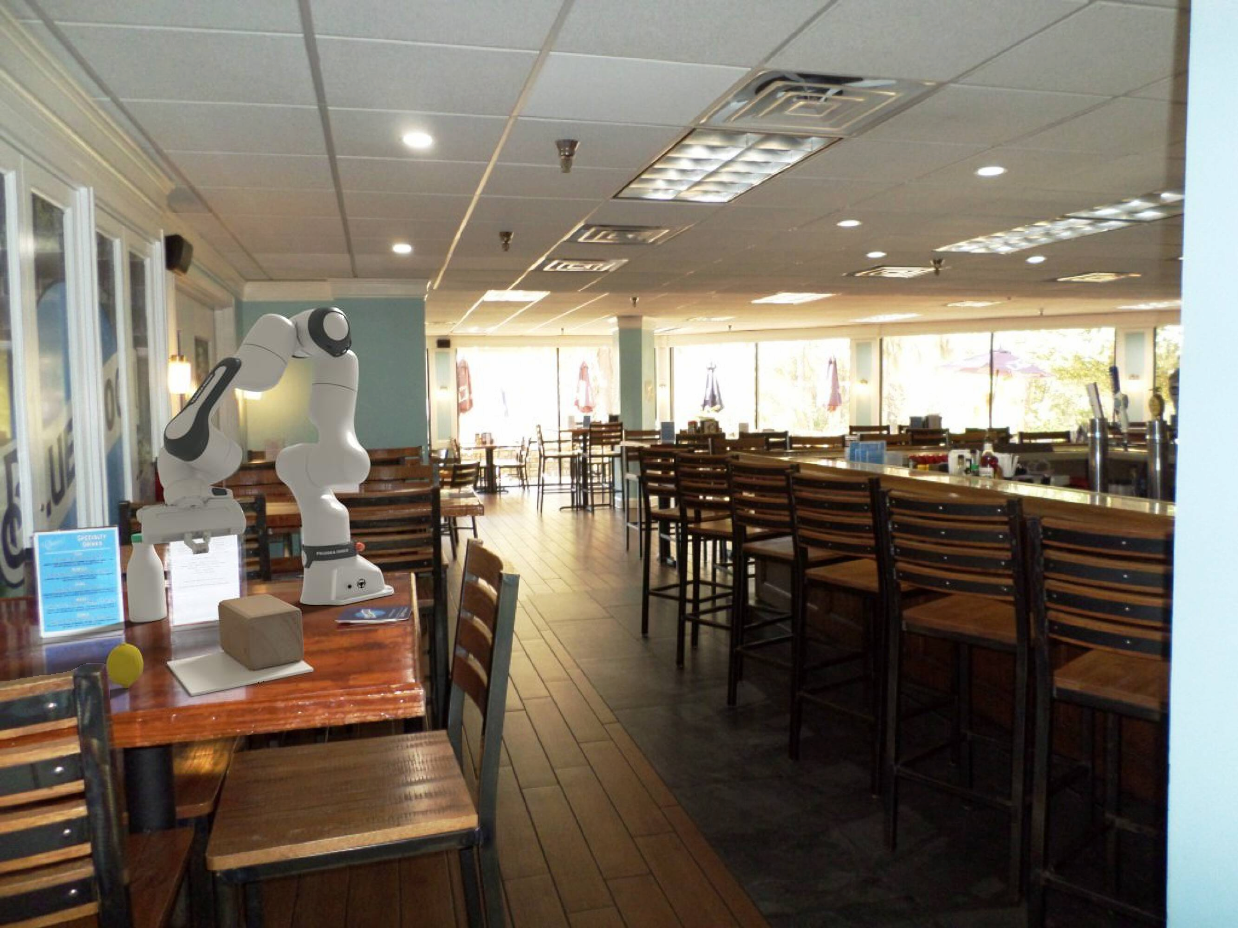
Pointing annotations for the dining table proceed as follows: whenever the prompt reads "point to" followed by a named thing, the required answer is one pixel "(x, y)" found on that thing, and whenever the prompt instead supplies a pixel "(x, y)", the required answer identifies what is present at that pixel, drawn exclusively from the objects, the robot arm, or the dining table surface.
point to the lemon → (125, 665)
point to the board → (227, 672)
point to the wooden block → (261, 631)
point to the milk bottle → (145, 583)
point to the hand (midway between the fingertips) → (201, 552)
